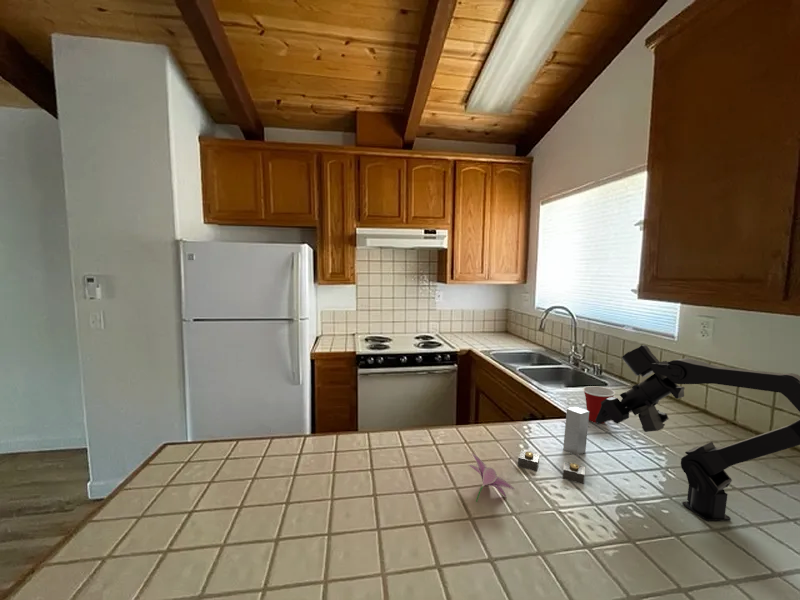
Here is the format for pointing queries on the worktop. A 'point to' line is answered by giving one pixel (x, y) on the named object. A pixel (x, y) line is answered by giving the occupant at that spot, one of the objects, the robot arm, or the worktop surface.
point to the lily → (490, 477)
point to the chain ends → (569, 471)
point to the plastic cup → (596, 399)
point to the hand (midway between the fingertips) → (605, 419)
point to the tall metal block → (576, 430)
